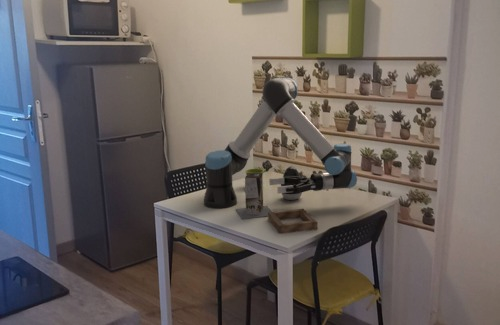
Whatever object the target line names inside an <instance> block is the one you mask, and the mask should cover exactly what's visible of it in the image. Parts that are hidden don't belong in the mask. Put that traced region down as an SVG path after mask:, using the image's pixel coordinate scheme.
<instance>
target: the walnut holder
mask: <svg viewBox="0 0 500 325" xmlns="http://www.w3.org/2000/svg"><path fill="white" fill-rule="evenodd" d="M298 218H300V219H301V220H302V221H296V222H286V223H283V222H282V221H281V220H289V219H298ZM267 219H268V221H269V222H270V223H271V225H272V226H273V227H274V229H275V230H276V231H277V232H278V234H286V233H297V232H303V231H304V230H306V231H313V230H312V229H315V230H318V221H317V220H316V219H315V218H314V217H313V216H312V215H311V214H310V213H309V212H307V210H305V209H304V208H297V209H296V208H295V209H286V210H277V211H274V210H273V211H272V212H268V218H267ZM296 231H297V232H296ZM304 232H305V231H304Z"/></svg>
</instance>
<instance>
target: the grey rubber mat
mask: <svg viewBox="0 0 500 325" xmlns="http://www.w3.org/2000/svg"><path fill="white" fill-rule="evenodd" d="M235 211H236V212H237V214H238V215H239V217H240V218H241V220H248V219H249V220H250V219H258V218H267V217H268V212H273V211H272V209H270V208H269V206H268V205H263V210H262V212H261V214H260V215H247V214H246V207H240V208H235Z"/></svg>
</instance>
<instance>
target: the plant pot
mask: <svg viewBox="0 0 500 325" xmlns="http://www.w3.org/2000/svg"><path fill="white" fill-rule="evenodd" d="M264 171H265V170H264V169H261V168H248V169H246V170H245V171H244V173H246V176H247V174H248V173H262V176H264Z"/></svg>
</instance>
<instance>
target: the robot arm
mask: <svg viewBox="0 0 500 325" xmlns="http://www.w3.org/2000/svg"><path fill="white" fill-rule="evenodd" d="M298 93H299V87H298V85H297V83H296V81H295V80H294V79H293V78H291V77H288V76H279V77H275V78H271V79H269V80H267V82H266V83H265V84H264V85H263V87H262V96H261V99H262V102H261V103H260V104H259V106H258V108H257V109H256V110H255V112H254V113H253V115H252V116H251V118H249V120H248V122H247V123H246V124H245V125H244V128H243V129H242V130H241V131H240V133H239V134H238V136H237V137H236V139H235V140H234V141H230V142H229V143H228V144H227V146H226V148H224V150H222V149H221V150H219V149H218V150H215V151H211V152H209V153H208V154H206V156H205V162H204V164H205V177H206V179H205V180H206V190H205V194H204V197H203V205H204V206H205V207H207V208H213V209H223V208H224V209H225V208H230V207H234V206H236V205H237V203H238V197H237V194H236V193H235V189H234V186H233V176H234V175H235V174H237V173H240V172H242V170H244V169H245V167H246V166H247V164H248V160H249V159H250V157H251V153H250V152H251V150H252V149H253V148H254V146H256V144H257V142H258V141H259V140H260V138H261V137H262V136H263V134H264V133H265V132H266V130H267V129H268V127H269V126H270V125H271V123H272V122H273V121H274V119H275V118H276V116H280V117H281V118H282V119H283V120H284V121H285V123H287V125H288V126H290V128H291V129H292V130H293V132H294V133H295V134H296V135H297V136H298V137H299V138H300V139H301V140H302V141H303V142H304V143H305V144H306V146H307V147H308V148H309V150H311V152H312V153H314V156H316V157H317V158H318V159H319V161H321V163H322V164H323V166H324V170H325V172H321V173H320V172H316V173H311V175H310V177H309V178H308V177H307V176H306V175H304V176H303V175H302V176H301V175H300V176H284V178H283V177H275V178H269V181H268V182H269V186H274V185H275V186H277V185H280V186H277V188H276V189H277V194H282V193H288V192H293V191H294V192H297V193H302V194H303V193H305V192H308V191H314V192H319V191H325V190H326V191H329V190H339V189H348V188H353V187H355V186H356V185H357V182H358V176H357V173H356V171H355V170H354V169H352V153H353V152H352V145H351V144H349V143H336V144H334V145H332V144H331V142H329V140H328V139H327V138H326V137H325V136H324V135H323V133H321V132H320V130H319V129H318V128H317V127H316V126H315V125H314V124H313V122H311V121H310V119H309V118H308V117H307V116H306V115H305V114H304V113H303V111H302V110H301V109H300V108H299V107H298V106H297V105H296V104H295V99H296V98H297V97H298ZM286 183H290V184H294V187H293V185H290V186H281V184H284V185H285V184H286ZM295 184H297V185H295Z"/></svg>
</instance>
